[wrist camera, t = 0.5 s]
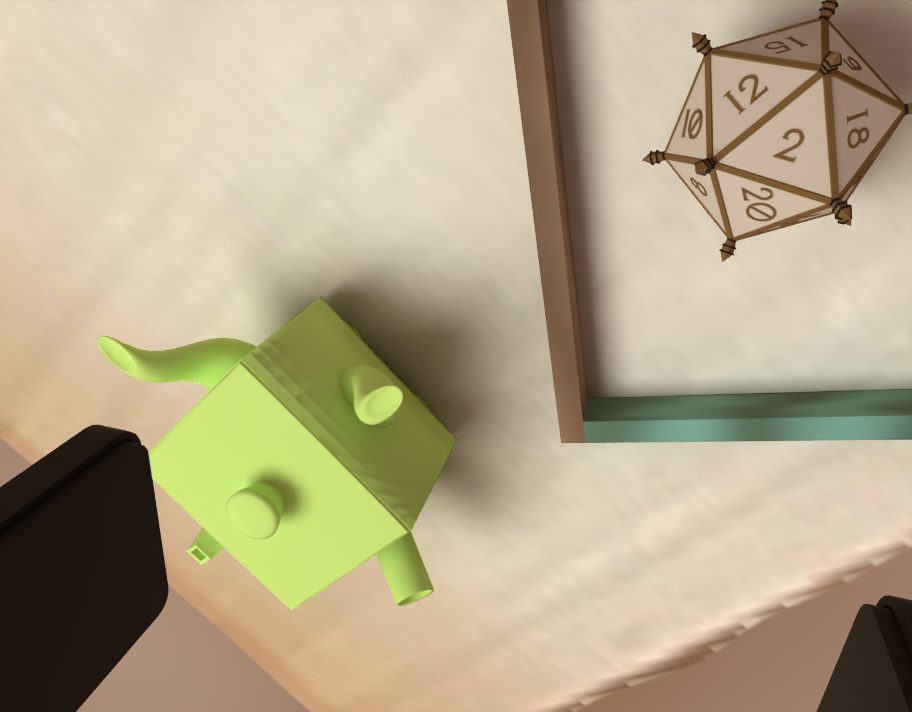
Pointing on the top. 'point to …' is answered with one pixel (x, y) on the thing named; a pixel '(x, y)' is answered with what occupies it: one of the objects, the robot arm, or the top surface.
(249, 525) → the kettle
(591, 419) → the shallow open wooden box
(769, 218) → the game die
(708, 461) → the top surface
